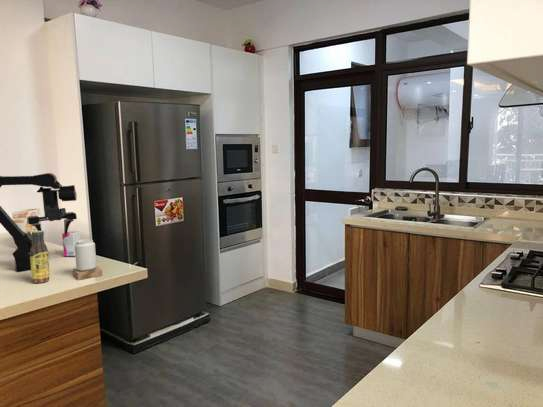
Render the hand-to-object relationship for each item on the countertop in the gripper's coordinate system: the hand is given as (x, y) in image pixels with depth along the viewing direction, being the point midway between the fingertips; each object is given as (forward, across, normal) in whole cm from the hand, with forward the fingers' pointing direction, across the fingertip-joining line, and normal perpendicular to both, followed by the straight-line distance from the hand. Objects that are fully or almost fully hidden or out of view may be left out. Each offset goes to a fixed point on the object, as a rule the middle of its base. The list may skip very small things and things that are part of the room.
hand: (54, 237), depth 185 cm
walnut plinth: (+13, +7, -25) cm, 29 cm away
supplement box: (+13, +10, +16) cm, 23 cm away
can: (+11, +7, -25) cm, 28 cm away
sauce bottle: (+13, -9, -21) cm, 26 cm away
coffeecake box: (+13, -3, +58) cm, 60 cm away
